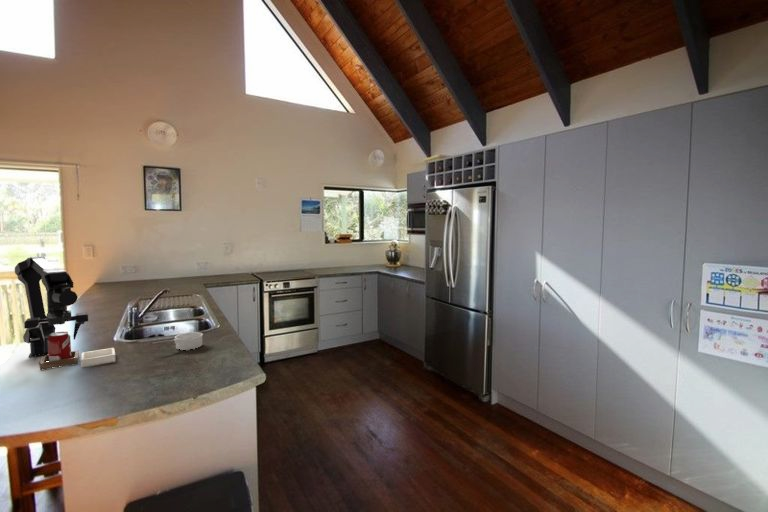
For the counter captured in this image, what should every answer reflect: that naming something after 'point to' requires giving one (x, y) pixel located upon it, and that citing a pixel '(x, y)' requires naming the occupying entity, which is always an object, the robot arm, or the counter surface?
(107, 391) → the counter surface
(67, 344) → the soda can
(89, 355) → the rimmed tray
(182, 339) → the saucepan
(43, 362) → the walnut holder
